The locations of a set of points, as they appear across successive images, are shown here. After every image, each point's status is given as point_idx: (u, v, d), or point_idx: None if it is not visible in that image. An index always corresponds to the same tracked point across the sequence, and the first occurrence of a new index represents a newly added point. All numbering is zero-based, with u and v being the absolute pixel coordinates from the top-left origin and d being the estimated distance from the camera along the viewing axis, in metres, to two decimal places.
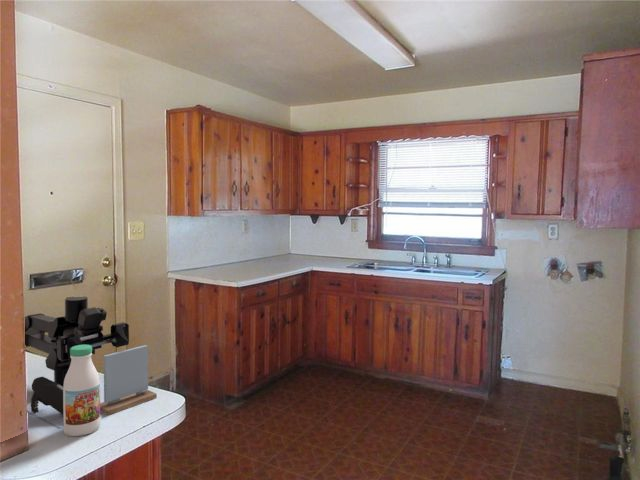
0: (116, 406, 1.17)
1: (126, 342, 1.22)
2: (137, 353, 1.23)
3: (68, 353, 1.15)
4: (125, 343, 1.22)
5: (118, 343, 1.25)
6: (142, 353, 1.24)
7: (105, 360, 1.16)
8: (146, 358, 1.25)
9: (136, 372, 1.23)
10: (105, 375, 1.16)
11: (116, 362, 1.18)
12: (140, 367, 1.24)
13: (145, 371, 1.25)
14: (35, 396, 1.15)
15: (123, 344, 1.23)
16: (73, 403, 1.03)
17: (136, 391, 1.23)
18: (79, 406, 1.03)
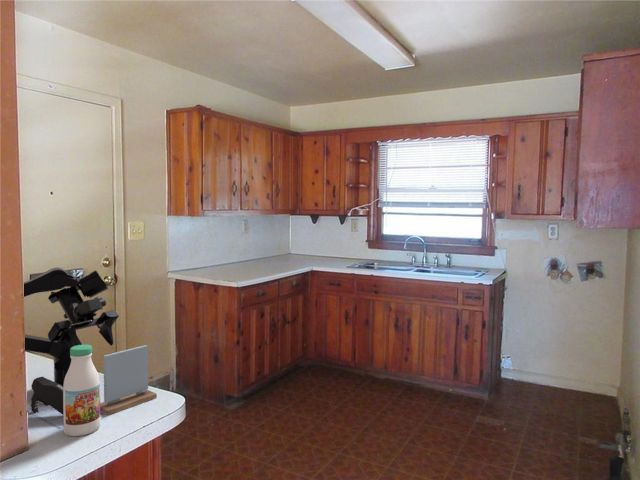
0: (116, 406, 1.17)
1: (111, 343, 1.31)
2: (137, 353, 1.23)
3: (60, 338, 1.23)
4: (109, 343, 1.31)
5: (103, 333, 1.33)
6: (142, 353, 1.24)
7: (105, 360, 1.16)
8: (146, 358, 1.25)
9: (136, 372, 1.23)
10: (105, 375, 1.16)
11: (116, 362, 1.18)
12: (140, 367, 1.24)
13: (145, 371, 1.25)
14: (35, 396, 1.15)
15: (107, 341, 1.32)
16: (73, 403, 1.03)
17: (136, 391, 1.23)
18: (79, 406, 1.03)
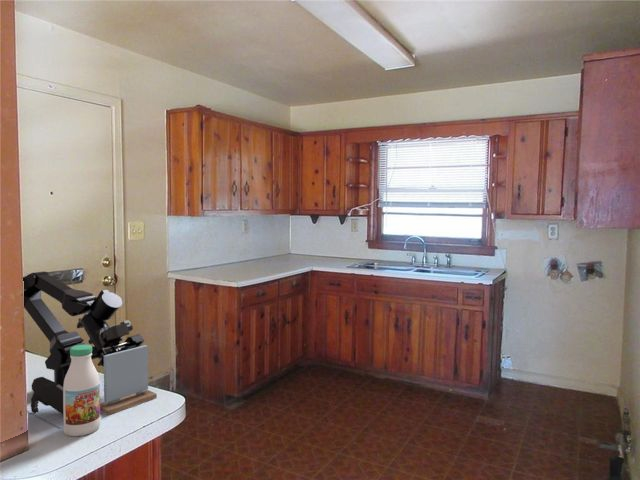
0: (116, 406, 1.17)
1: None
2: (137, 353, 1.23)
3: (101, 362, 1.21)
4: None
5: None
6: (142, 353, 1.24)
7: (105, 360, 1.16)
8: (146, 358, 1.25)
9: (136, 372, 1.23)
10: (105, 375, 1.16)
11: (116, 362, 1.18)
12: (140, 367, 1.24)
13: (145, 371, 1.25)
14: (35, 396, 1.15)
15: None
16: (73, 403, 1.03)
17: (136, 391, 1.23)
18: (79, 406, 1.03)
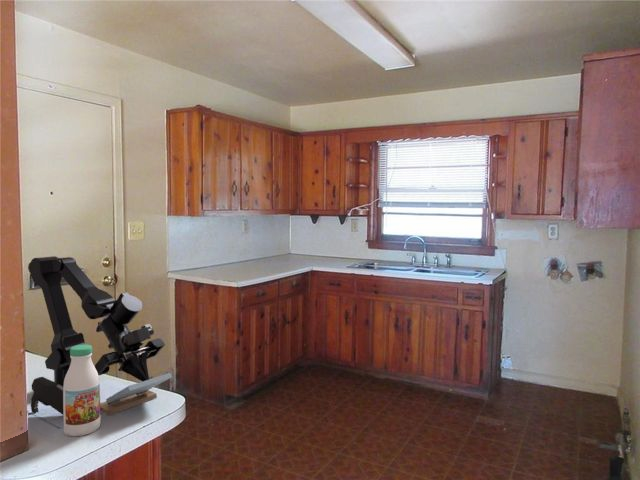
0: (116, 406, 1.17)
1: None
2: (158, 381, 1.18)
3: (122, 367, 1.17)
4: None
5: None
6: (163, 380, 1.19)
7: (127, 390, 1.11)
8: (163, 381, 1.21)
9: (147, 387, 1.20)
10: (120, 395, 1.13)
11: (135, 389, 1.13)
12: (153, 385, 1.21)
13: (155, 385, 1.23)
14: (35, 396, 1.15)
15: None
16: (73, 403, 1.03)
17: (137, 393, 1.23)
18: (79, 406, 1.03)
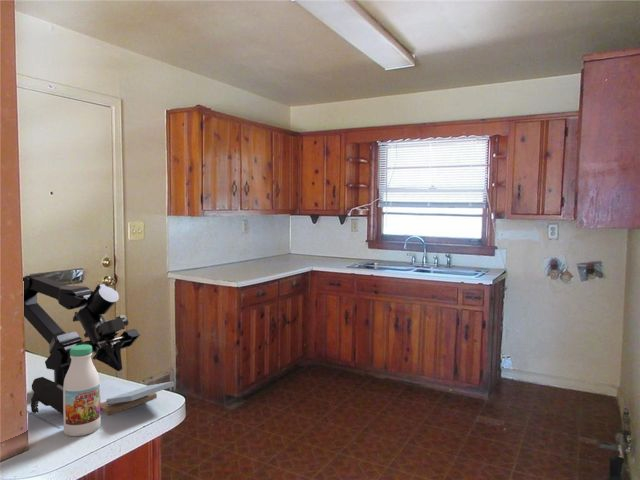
0: (116, 406, 1.17)
1: None
2: None
3: (96, 355, 1.22)
4: None
5: None
6: None
7: (129, 399, 1.10)
8: None
9: None
10: (121, 401, 1.12)
11: None
12: None
13: None
14: (35, 396, 1.15)
15: None
16: (73, 403, 1.03)
17: None
18: (79, 406, 1.03)
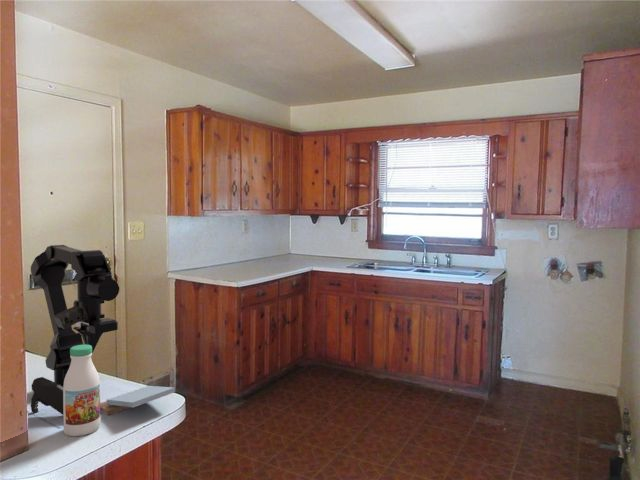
0: (116, 406, 1.17)
1: None
2: None
3: None
4: None
5: None
6: None
7: (130, 405, 1.10)
8: None
9: None
10: (122, 405, 1.12)
11: None
12: None
13: None
14: (35, 396, 1.15)
15: None
16: (73, 403, 1.03)
17: None
18: (79, 406, 1.03)
